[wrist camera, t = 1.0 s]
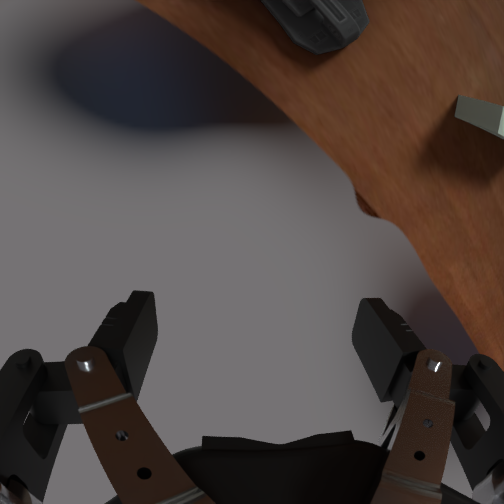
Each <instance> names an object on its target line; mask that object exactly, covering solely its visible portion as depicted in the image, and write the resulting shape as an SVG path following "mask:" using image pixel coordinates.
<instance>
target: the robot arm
mask: <svg viewBox="0 0 504 504" xmlns="http://www.w3.org/2000/svg"><path fill="white" fill-rule="evenodd" d="M157 335H158V325H157V316H156V307H155V298H154V293H153V292H149V291H133V292H132V293H131V295H130V297H129V299H128V300H127V302H120V303H118V304H117V305H115V306H114V307H113V308H111V309H110V311H109V312H108V314H107V316H106V318H105V319H104V320H103V322H102V325H100V326H99V328H98V330H97V331H96V333H95V335H94V336H93V338H92V339H91V341H90V343H89V344H88V346H84V347H80V348H77V349H75V350H73V351H72V352H70V353H69V354H68V355H67V357H66V359H65V361H62V362H44V361H43V359H42V356H41V354H40V353H39V352H38V351H36V350H32V349H23V350H20V351H17V352H16V353H14V354H13V355H11V356H10V357H9V358H8V360H7V361H6V363H5V364H4V366H3V367H2V369H1V370H0V504H43V499H44V496H45V492H46V489H47V485H48V482H49V478H50V475H51V472H52V468H53V465H54V462H55V459H56V456H57V453H58V450H59V447H60V444H61V441H62V439H63V436H64V433H65V430H66V427H67V425H68V424H84V426H85V429H86V431H87V434H88V436H89V438H90V441H91V443H92V445H93V447H94V450H95V452H96V454H97V456H98V458H99V460H100V462H101V464H102V466H103V469H104V470H105V472H106V474H107V476H108V478H109V480H110V482H111V484H112V486H113V488H114V489H115V491H116V493H117V495H116V496H115V497H114V498H112V499H111V500H109V501H108V502H106V503H105V504H504V372H503V371H502V369H501V368H500V367H499V366H498V364H497V363H496V362H495V361H494V360H493V359H491V358H490V357H488V356H486V355H482V354H475V355H473V356H471V358H470V359H469V361H468V363H467V365H466V366H465V365H453V364H452V363H451V360H450V359H449V358H448V357H447V356H446V355H445V354H443V353H442V352H439V351H437V350H432V349H426V348H425V346H424V345H423V344H422V342H421V341H420V340H419V338H418V337H417V336H416V335H415V333H414V332H413V331H412V329H411V328H410V327H409V326H408V325H407V323H406V322H405V321H404V319H403V318H402V317H401V316H400V315H399V314H397V313H396V312H394V311H393V310H390V309H389V308H388V306H387V305H386V304H385V303H384V301H383V300H382V299H381V298H363V299H362V300H361V301H360V304H359V308H358V312H357V316H356V320H355V323H354V327H353V331H352V342H353V346H354V348H355V350H356V352H357V354H358V356H359V358H360V360H361V362H362V364H363V366H364V368H365V370H366V372H367V374H368V376H369V378H370V380H371V382H372V385H373V387H374V389H375V391H376V393H377V395H378V397H379V399H380V402H386V401H392V400H393V402H394V405H393V407H392V409H391V411H390V414H389V416H388V419H387V421H386V424H385V426H384V429H383V431H382V434H381V436H380V438H379V441H378V443H377V445H375V444H373V443H369V442H365V441H359V440H354V437H353V434H352V432H351V431H343V432H334V433H326V434H317V435H313V436H310V437H307V438H304V439H300V440H297V441H293V442H290V443H286V444H272V443H266V442H261V441H256V440H251V439H246V438H240V437H213V436H212V437H211V436H203V437H202V446H198V447H193V448H189V449H185V450H182V451H180V452H177V453H175V454H173V455H172V454H171V453H170V452H169V450H168V449H167V447H166V446H165V445H164V443H163V442H162V440H161V439H160V438H159V436H158V435H157V433H156V432H155V431H154V429H153V427H152V426H151V424H150V423H149V421H148V420H147V418H146V417H145V415H144V414H143V412H142V410H141V409H140V407H139V405H138V404H137V400H138V396H139V393H140V390H141V387H142V384H143V380H144V377H145V374H146V371H147V368H148V365H149V362H150V359H151V356H152V353H153V350H154V347H155V344H156V341H157ZM480 403H482V404H483V406H484V408H485V409H486V411H487V412H488V414H489V416H490V426H489V428H488V430H487V431H485V430H484V428H483V426H482V424H481V422H480V421H479V419H478V417H477V416H476V414H475V411H476V409H477V408H478V406H479V405H480ZM29 411H30V412H29ZM28 412H29V414H28ZM27 414H28V416H27ZM26 417H27V419H26ZM25 419H26V420H25ZM24 421H25V423H24ZM23 424H24V425H23ZM450 441H451V443H452V446H453V448H454V450H455V452H456V454H457V456H458V458H459V461H460V463H461V465H462V467H463V469H464V472H465V474H466V476H467V479H468V481H469V483H470V486H471V488H472V491H473V494H472V499H471V498H469V497H467V496H465V495H463V494H461V493H459V492H458V491H456V490H454V489H452V488H450V487H448V486H447V485H445V484H443V483H441V480H442V476H443V472H444V468H445V464H446V459H447V454H448V449H449V444H450Z"/></svg>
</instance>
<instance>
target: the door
mask: <svg viewBox="0 0 504 504" xmlns="http://www.w3.org/2000/svg"><path fill="white" fill-rule="evenodd" d="M454 117H456V118H459V119H461V120H463V121H466V122H468V123H470V124H472V125H475V126H477V127H479V128H481V129H483V130H485V131H488V132H490V133H492V134H494V135H496V136H498V137H500V138H502V139H504V107H503V106H500V105H497V104H493V103H490V102H486V101H482V100H478V99H474V98H470V97H466V96H461V95H458V101H457V106H456V111H455V116H454Z"/></svg>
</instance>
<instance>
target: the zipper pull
mask: <svg viewBox="0 0 504 504" xmlns="http://www.w3.org/2000/svg"><path fill="white" fill-rule="evenodd" d="M260 1H261V2H262V3H263V4H264V5H265V7H266V8H267V9H268V10H269V11H270V13H271V14H272V15H273V16H274V17H275V19H276V20H277V21H278V22H279V24H280V25H281V26H282V28H283V29H284V30H285V32H286V33H287V35H288V36H289V37H290V39H291V40H292V42H293V43H295V44H297V45H298V46H300V47H302V48H304V49H306V50H308V51H310V52H312V53H314V54H316V55H319V54H322V53H326V52H330V51H334V50H338V49H341V48H344V47H345V46H347V45H349V44H350V43H352V42H353V41H355V40H356V39H357V38H358V37H359V36H360V34H361V33H362V32H363V30H364V29H365V28H366V26H367V25H368V24H369V18H368V16H367V13H366V10H365V7H364V5H363V2H362V0H260Z"/></svg>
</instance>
